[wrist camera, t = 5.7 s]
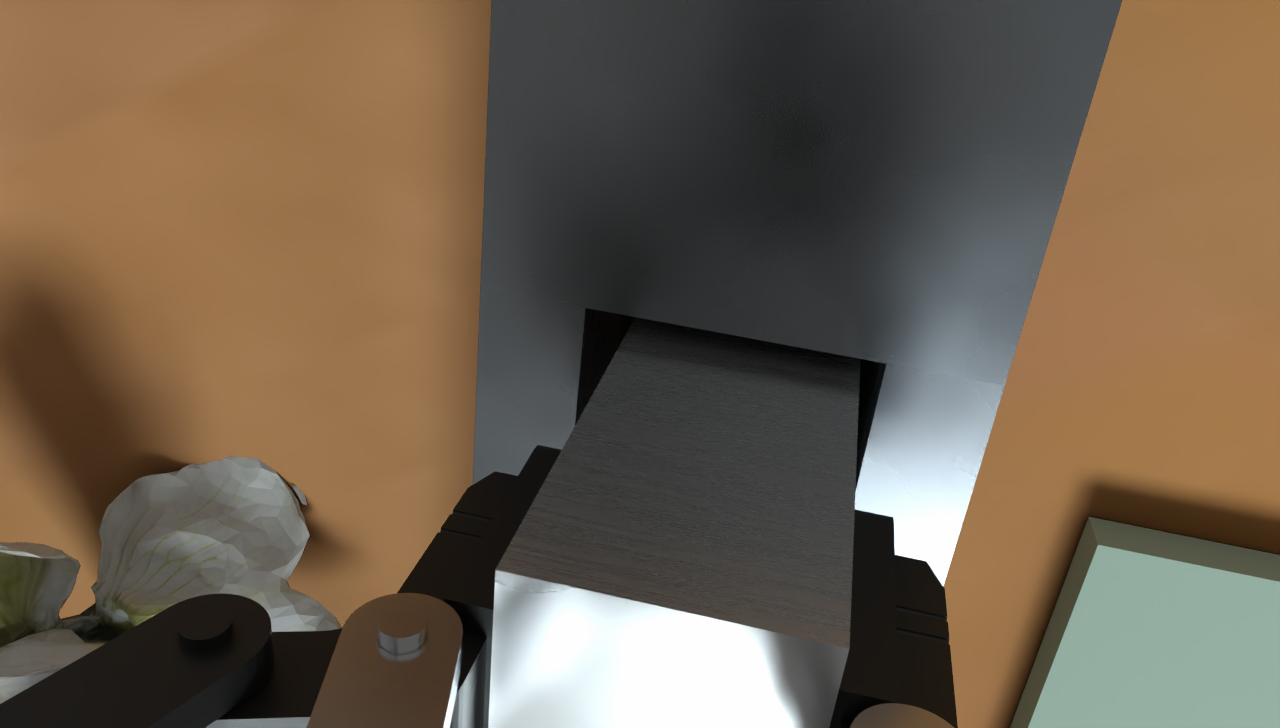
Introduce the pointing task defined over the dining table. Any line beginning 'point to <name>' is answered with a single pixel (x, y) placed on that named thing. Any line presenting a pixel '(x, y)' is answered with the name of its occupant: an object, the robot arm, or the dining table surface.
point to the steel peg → (687, 544)
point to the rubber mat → (1159, 636)
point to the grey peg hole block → (781, 208)
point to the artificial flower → (159, 565)
